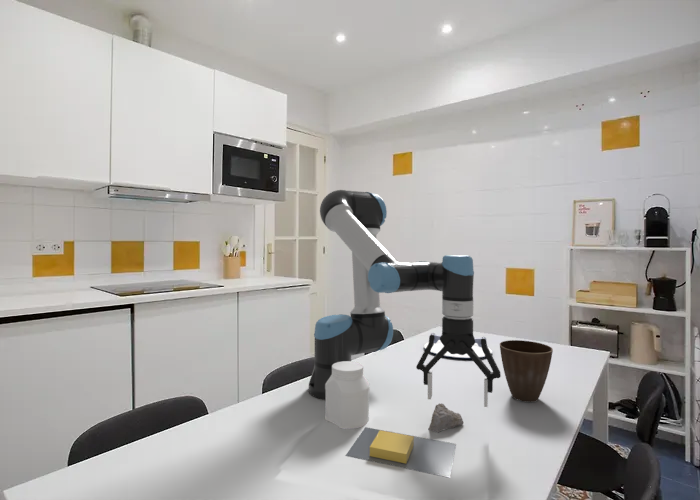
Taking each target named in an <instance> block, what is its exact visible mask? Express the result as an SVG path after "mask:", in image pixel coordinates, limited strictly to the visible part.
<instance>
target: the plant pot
mask: <svg viewBox="0 0 700 500" xmlns="http://www.w3.org/2000/svg"><path fill="white" fill-rule="evenodd" d="M499 350H500V357H501V363H502V368H503V372H504V377H505V380H506V383H507V386H508V388H509V392H510V394H511V397H512V398H513V399H515V400H517V401H520V402H524V403H534V402H537V401H538V400H539V398H540V395H541V394H542V392H543V390H544V386H545V384H546V381H547V377H548V375H549V371H550V367H551V362H552V356H553V352H554V351H553V347H552V346H550V345H548V344H543V343H541V342H536V341H530V340H520V339H519V340H518V339H517V340H516V339H515V340H514V339H512V340H504V341H501V342H500V343H499Z"/></svg>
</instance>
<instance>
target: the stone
mask: <svg viewBox="0 0 700 500" xmlns="http://www.w3.org/2000/svg"><path fill="white" fill-rule="evenodd" d="M430 421H431V422H430V424H429V426H428V431H432V432H435V433H438V434H439V433H440V432H442V431H444V430H447V429H454V428H455V427H459V426H460V427H461V426H462V425H464V420H463V418H462V414H460V413H459V412H455V411H453V410H450V409H449V408H448V407H446V405H445V404H444V403H438V404H435V407H434V410H433V413H432V417H431V420H430Z"/></svg>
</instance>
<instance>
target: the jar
mask: <svg viewBox="0 0 700 500" xmlns="http://www.w3.org/2000/svg"><path fill="white" fill-rule="evenodd" d="M325 390H326V399H325V401H324V402H325V408H324V409H325V412H324V413H325V416H324V420H325V421H327V422H330V423H333V424H334V425H336V426H337V427H338V428H340V429H345V430H349V429H350V430H351V429H357V428H361V427H364V426H366V425H367V424H368V423H369V421H370V415H369V414H370V413H369V409H370V383H369V380H368V379H367V378H366V377H365V375H364V365H363V363H360V362H357V361H352V360H351V361H342V362H337V363H334V364H333V365H332V375H331V376H330V378H329V379H328V381H327V382H326V384H325Z"/></svg>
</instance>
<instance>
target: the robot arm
mask: <svg viewBox="0 0 700 500" xmlns="http://www.w3.org/2000/svg"><path fill="white" fill-rule="evenodd" d="M387 212H388V211H387V205H386V202H385V201H384V199H383V198H382V197H381V196H380V195H379V194H377V193H375V192H369V191H356V190H346V189H337V190H333V191H330V192H329V193H328V194H327V195H326V196H325V197H324V198H323V199H322V201H321V203H320V207H319V216H320V219H321V221H322V222H323V224H324V225H325V227H326V228H327V229H328V230H329V231H331V232H334V233H336V235H337V236H338V237H339V238H340V240H341V241H343V243H344V244H345V245H346V246H347V247H348V249H349V250H350V251H351V258H352V259H351V261H352V279H353V280H352V281H353V300H354V303H353V304H354V307H353V309H351V311H350V312H349V313H350V315H349V314H331V315H327V316H324V317H321V318H319V319H318V320H317V321H316V323H315V324H314V325H315V327H314V334H313V337H314V364H313V365H314V366H313V370H312V373H311V376H310V379H309V382H308V394H310V395H311V396H312V397H315V398H316V399H317V398H318V399H322V400H326V390H325V384H326V382H327V381H328V379H329V378H330V376H331V375H332V365H333V364H334V363H337V362H342V361H352V356H356V355H362V354H367V353H376V352H378V351H379V352H380V351H383V350H385V349H387V348H388V347H389V346H390V345H391V342H392V340H393V337H394V327H393V323H392V322H391V320H392V319H390V317H389V316H387V315H386V310H385V309H384V308H383V307H382V306H381V302H380V301H381V300H380V294H381V293H382V294H383V293H385V294H392V293H401V292H413V291H414V292H415V291H439V292H441V293H442V295H441V298H442V302H441V304H442V306H441V308H442V310H441V314H442V315H443V317H442V318H441V329H442V330H441V335H439V334H436V333H434V332H431V333H430V335H429V336H428V338H429V339H428V342H429V343H428V342H427V343H428V345H427V347H426V349H425V348H424V351H423V353H422V354H421V357H420V359H419V361H417V362H418V363H417V365H416V368H415V369H416V370H419V371H422V374H423V385H424V386H427V400H429V401H430V400H432V397H433V370H431V369H432V368H433V367H434V366H435V365H436V364H437V362H439V361H440V359H442V358H443V357H444V356H443V355H445V353H446V352H447V351H448V352H449V353H451V354H459V355H464V354H466V353H467V354H468V356H469V357H470V358H469V359H471V360H472V361H473V362H474V363H475V365H476V366H477V368H478V369H479V370H480V371H481V372H482V373H483V375H484V380H483V395H484V396H483V406H484V408H488V406H489V405H488V395H489V394H488V393H493V390H494V389H493V388H494V386H493V383H494V380H495V379H500V378H501V377H502V375H501V374H502V373H501V371H500V369H499V367H498V365H497V363H496V361H495V359H494V356H493V355H492V354H491V353H490V351H489V349H488V347H489V346H488V342H487V337H485V336H482V337H475V336H474V319H473V318H472V317H473V316H474V275H475V271H474V259H473V258H472V257H471V255H460V254H459V255H458V254H456V255H453V254H452V255H447V254H446V255H444V256H442V260H441V261H442V262H437V261H434V262H433V261H426V260H423V261H422V260H421V261H415V262H414V261H413V262H412V261H411V262H410V261H409V262H408V261H407V262H400V261H398V260H397V259H396V258H395V257H394V256H393V255H392V254H391V253H390V251H388V250H387V249H386V247H385V246H383V244H382V243H380V241H379V240H378V239H377V235H378V234H379V232H380V231H381V226H382V225H384V223H385V222H386V219H387ZM438 340H440V341H441V342H442V344H443V345H444V347H443V348H442V349H441V350H440V351H439V352H438V353H437V354H435V355H434V356H433V357H432V359H430V361H428V363H427V364H426V365H425V361H427V360H426V359H427V358H428V356H429V355H430V353H431V352H430V351H431V349H432V347H433V345H434V343H437V341H438ZM475 343H477V344H478V346H479V347H482V350H483V352H484V354H485V356H486V357H485V359H486V360H487V362H488V364H489V366H490V368H491V370H492V371H491V370H490V369H489V367H487V365H486V364H485V363H484V361H483V360H482V359H481V358H479V357H478V355H477V354H476V353H475V351H474V350H473V349H472V346H473V345H474V344H475Z"/></svg>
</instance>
